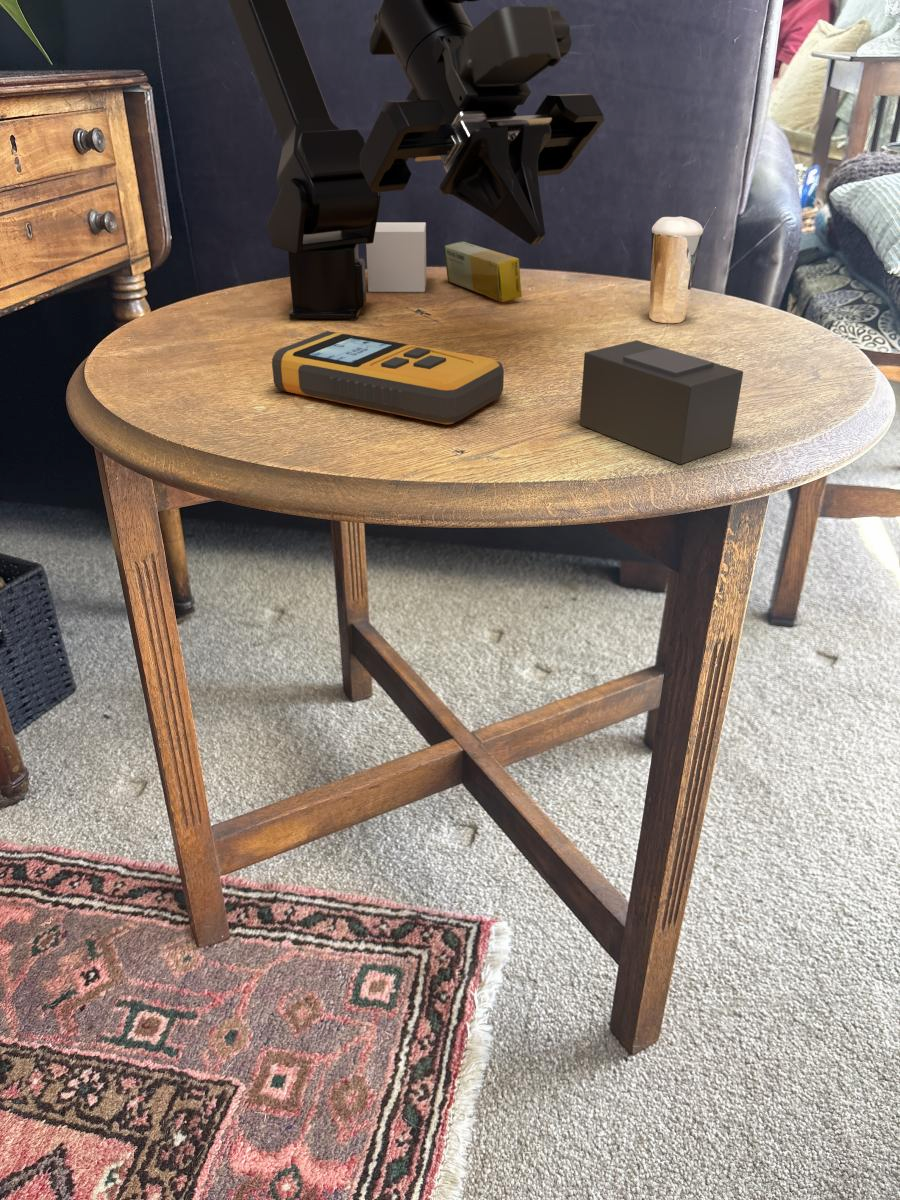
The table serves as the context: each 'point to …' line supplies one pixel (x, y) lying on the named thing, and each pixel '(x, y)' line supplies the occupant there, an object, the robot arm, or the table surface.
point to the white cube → (397, 257)
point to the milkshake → (673, 266)
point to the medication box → (483, 271)
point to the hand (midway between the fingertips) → (538, 239)
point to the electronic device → (388, 376)
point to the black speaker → (660, 400)
